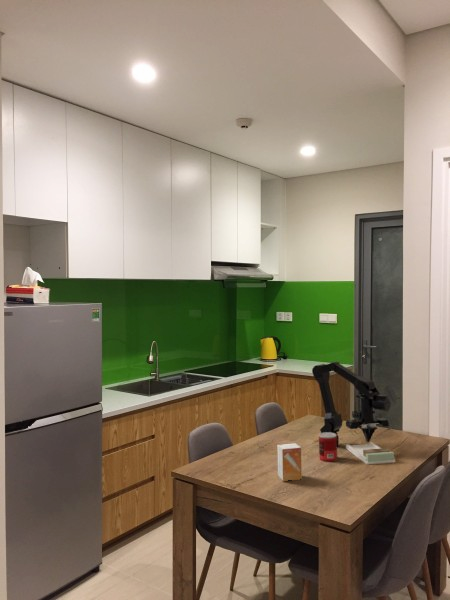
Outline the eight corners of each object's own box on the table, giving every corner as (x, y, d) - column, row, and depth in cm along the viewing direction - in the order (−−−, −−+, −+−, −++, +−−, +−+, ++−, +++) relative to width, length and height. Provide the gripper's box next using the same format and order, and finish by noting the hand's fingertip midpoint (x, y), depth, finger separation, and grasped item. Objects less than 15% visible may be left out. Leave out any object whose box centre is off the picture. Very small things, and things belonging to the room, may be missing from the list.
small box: (282, 482, 199) (282, 449, 199) (277, 476, 205) (276, 444, 205) (302, 479, 201) (301, 447, 201) (296, 474, 207) (295, 442, 207)
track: (366, 464, 217) (366, 455, 217) (345, 448, 240) (345, 439, 240) (395, 462, 219) (395, 452, 219) (371, 446, 242) (371, 437, 242)
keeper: (367, 459, 219) (366, 452, 219) (363, 456, 223) (363, 449, 223) (389, 457, 221) (389, 450, 221) (385, 454, 225) (385, 448, 225)
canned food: (340, 458, 225) (339, 434, 225) (331, 463, 220) (330, 438, 220) (325, 455, 231) (325, 431, 231) (316, 459, 225) (315, 435, 225)
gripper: (378, 403, 240) (379, 435, 240) (340, 405, 237) (341, 438, 237) (389, 408, 229) (390, 442, 229) (350, 410, 226) (351, 445, 226)
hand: (367, 442), depth 231 cm, fingers closed
